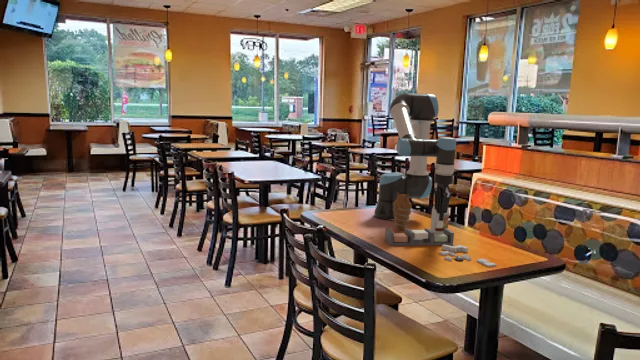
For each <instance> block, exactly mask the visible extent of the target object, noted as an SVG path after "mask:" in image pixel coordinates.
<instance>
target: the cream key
mask: <svg viewBox="0 0 640 360" xmlns="http://www.w3.org/2000/svg"><path fill="white" fill-rule="evenodd" d="M410 230H411V231H412V232H413V233H414V239H428V233H427V232H426V231H425V229H410Z"/></svg>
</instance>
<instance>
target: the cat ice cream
mask: <svg viewBox="0 0 640 360" xmlns="http://www.w3.org/2000/svg"><path fill="white" fill-rule="evenodd" d="M397 195H398V197H397V199H396V200H395V201H394V202H393V206H394V207H393V211H394V217H395V220H394V222H395V228H396V229H397V230H399V231H405V228H407V225H408V224H409V223H408V222H409V220H410V215H411V214H412V210H411V209H412V208H413V205H412V202H410V198H408V196H409V193H408V194H406V195H405V194H400V193H397Z"/></svg>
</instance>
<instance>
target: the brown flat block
mask: <svg viewBox="0 0 640 360" xmlns="http://www.w3.org/2000/svg"><path fill="white" fill-rule="evenodd" d="M393 233H394V238H393V242H407V241H408V236H407V235H406V234H405V232H396V233H395V232H393Z"/></svg>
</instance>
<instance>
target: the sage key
mask: <svg viewBox="0 0 640 360" xmlns="http://www.w3.org/2000/svg"><path fill="white" fill-rule="evenodd" d="M447 240H448V236H447V235H445V234H444V233H434V242H447Z"/></svg>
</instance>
